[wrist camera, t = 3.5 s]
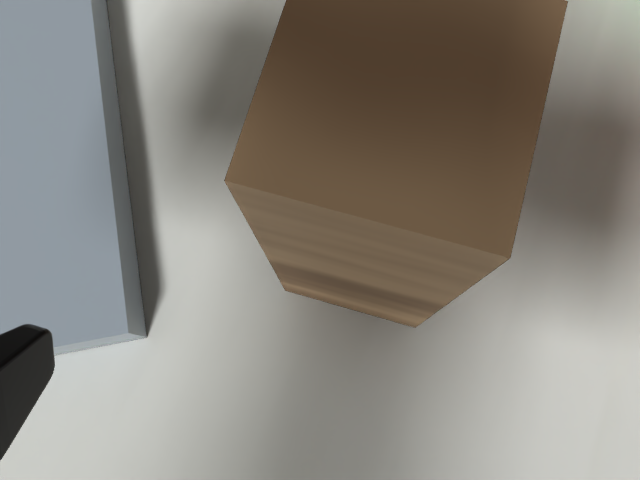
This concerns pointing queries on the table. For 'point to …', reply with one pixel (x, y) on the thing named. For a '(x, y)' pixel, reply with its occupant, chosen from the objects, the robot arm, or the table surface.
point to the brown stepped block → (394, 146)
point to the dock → (64, 179)
